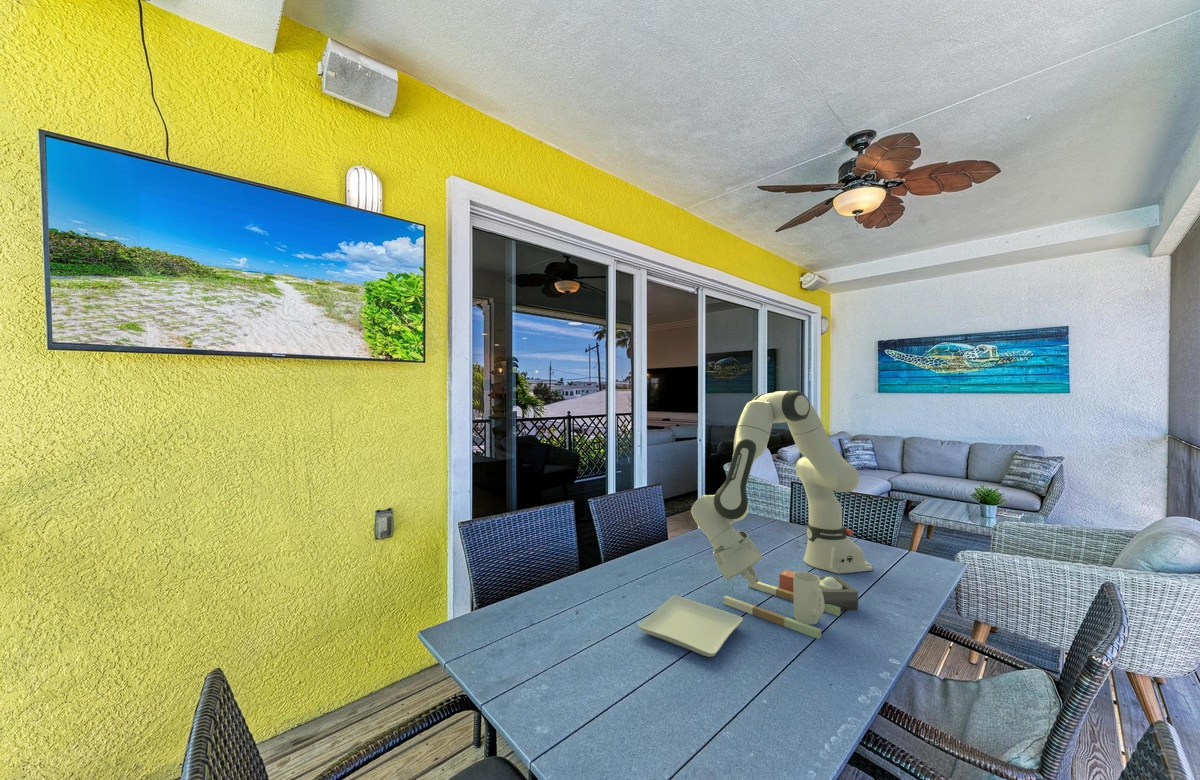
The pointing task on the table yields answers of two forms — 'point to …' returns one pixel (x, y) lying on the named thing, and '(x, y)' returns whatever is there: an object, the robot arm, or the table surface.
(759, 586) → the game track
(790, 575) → the die
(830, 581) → the pop dome
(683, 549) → the table surface
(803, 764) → the table surface
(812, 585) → the mug
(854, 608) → the dome housing
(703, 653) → the salad plate
